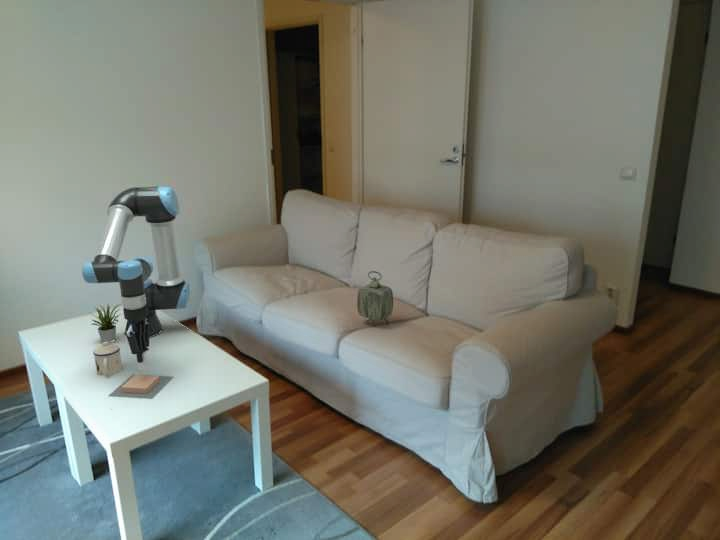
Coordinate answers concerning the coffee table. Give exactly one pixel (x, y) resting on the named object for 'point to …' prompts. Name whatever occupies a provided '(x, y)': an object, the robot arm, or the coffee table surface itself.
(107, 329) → the house plant
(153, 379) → the tile
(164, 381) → the mat
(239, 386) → the coffee table surface
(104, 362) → the teacup with lid
